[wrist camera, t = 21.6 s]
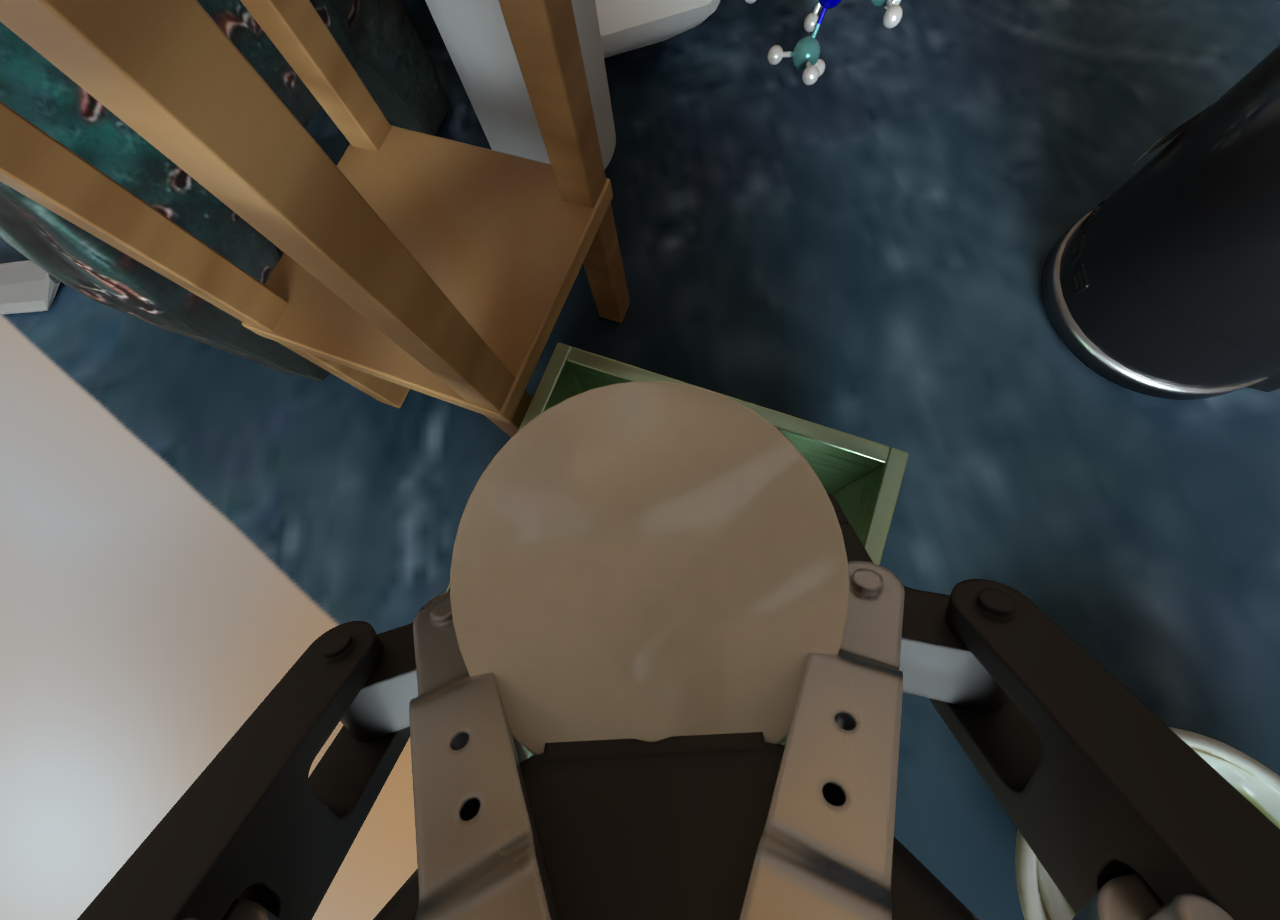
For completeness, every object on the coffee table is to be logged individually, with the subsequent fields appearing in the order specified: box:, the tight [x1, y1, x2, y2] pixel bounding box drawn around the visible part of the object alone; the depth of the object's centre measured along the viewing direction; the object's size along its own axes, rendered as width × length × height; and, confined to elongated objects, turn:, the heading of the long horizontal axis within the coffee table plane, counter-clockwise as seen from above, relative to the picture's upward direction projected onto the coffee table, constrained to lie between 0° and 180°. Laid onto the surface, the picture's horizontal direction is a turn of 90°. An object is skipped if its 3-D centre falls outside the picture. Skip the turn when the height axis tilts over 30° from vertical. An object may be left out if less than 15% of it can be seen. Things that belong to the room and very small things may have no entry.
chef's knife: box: [0, 260, 61, 315], centre depth 27 cm, size 19×1×3 cm
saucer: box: [1015, 727, 1280, 920], centre depth 15 cm, size 10×10×2 cm
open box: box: [445, 343, 909, 746], centre depth 16 cm, size 10×10×8 cm
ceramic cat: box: [0, 0, 450, 382], centre depth 16 cm, size 20×6×20 cm, turn 164°
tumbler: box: [450, 381, 849, 755], centre depth 12 cm, size 6×6×10 cm
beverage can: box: [425, 0, 616, 170], centre depth 20 cm, size 6×6×12 cm
